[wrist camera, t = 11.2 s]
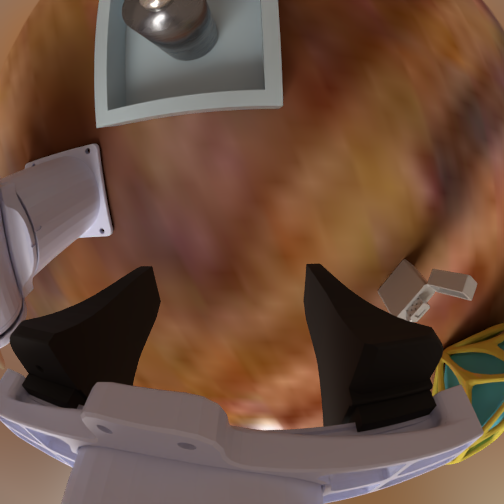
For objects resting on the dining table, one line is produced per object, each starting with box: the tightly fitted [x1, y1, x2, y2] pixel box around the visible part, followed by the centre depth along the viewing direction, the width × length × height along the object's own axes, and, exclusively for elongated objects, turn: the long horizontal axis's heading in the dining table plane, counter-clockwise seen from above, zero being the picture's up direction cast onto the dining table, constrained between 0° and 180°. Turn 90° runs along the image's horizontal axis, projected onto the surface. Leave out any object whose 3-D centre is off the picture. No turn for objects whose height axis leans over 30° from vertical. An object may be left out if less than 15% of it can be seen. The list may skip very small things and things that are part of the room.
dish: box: [94, 0, 283, 128], centre depth 13 cm, size 12×12×4 cm
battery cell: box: [122, 0, 219, 61], centre depth 11 cm, size 4×4×8 cm
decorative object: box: [432, 323, 504, 464], centre depth 23 cm, size 23×23×15 cm
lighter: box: [378, 259, 477, 322], centre depth 19 cm, size 7×2×8 cm, turn 150°
